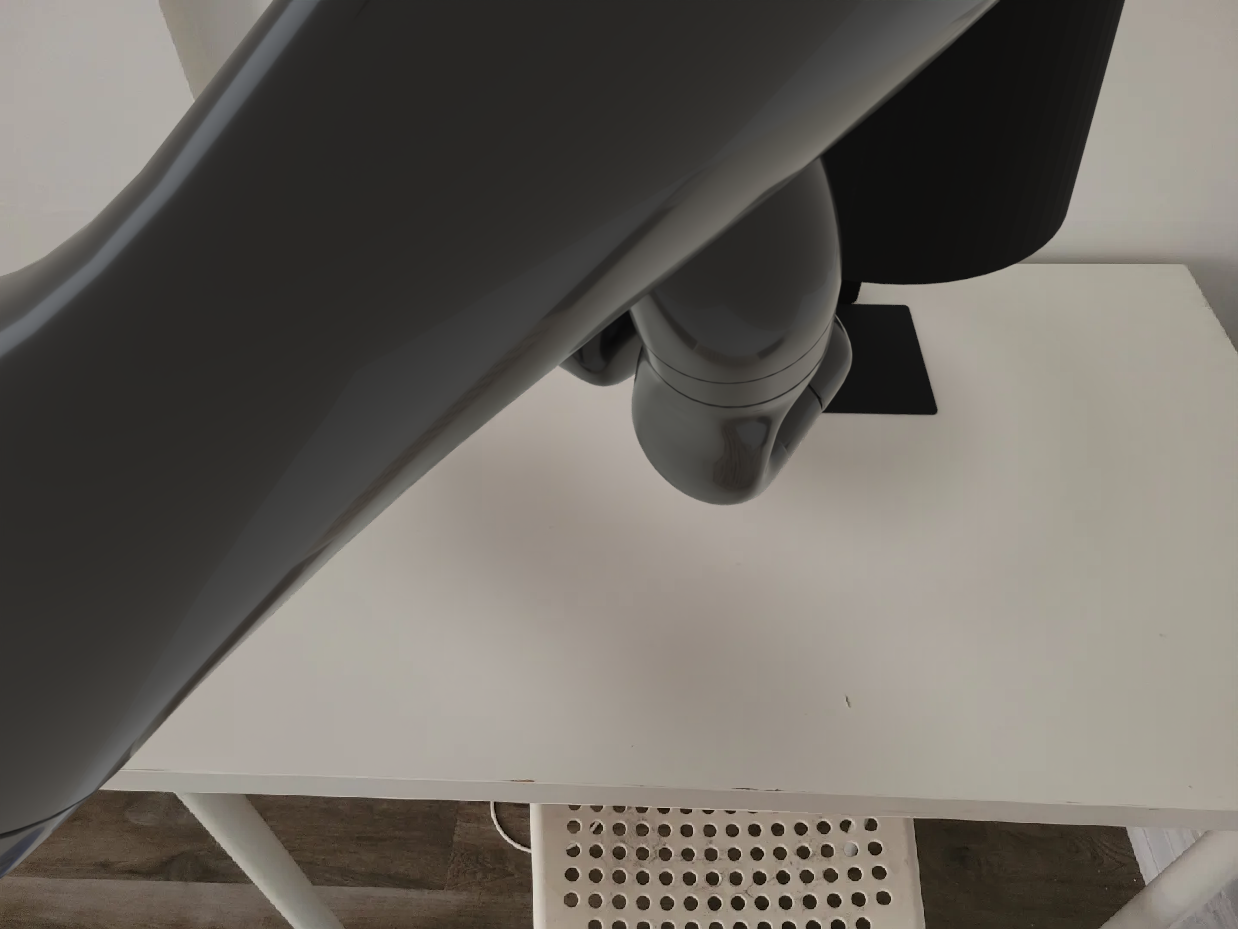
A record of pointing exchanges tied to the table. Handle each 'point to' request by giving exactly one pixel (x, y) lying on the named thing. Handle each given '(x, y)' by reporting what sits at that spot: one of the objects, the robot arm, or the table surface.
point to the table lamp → (962, 177)
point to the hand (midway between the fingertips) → (316, 146)
